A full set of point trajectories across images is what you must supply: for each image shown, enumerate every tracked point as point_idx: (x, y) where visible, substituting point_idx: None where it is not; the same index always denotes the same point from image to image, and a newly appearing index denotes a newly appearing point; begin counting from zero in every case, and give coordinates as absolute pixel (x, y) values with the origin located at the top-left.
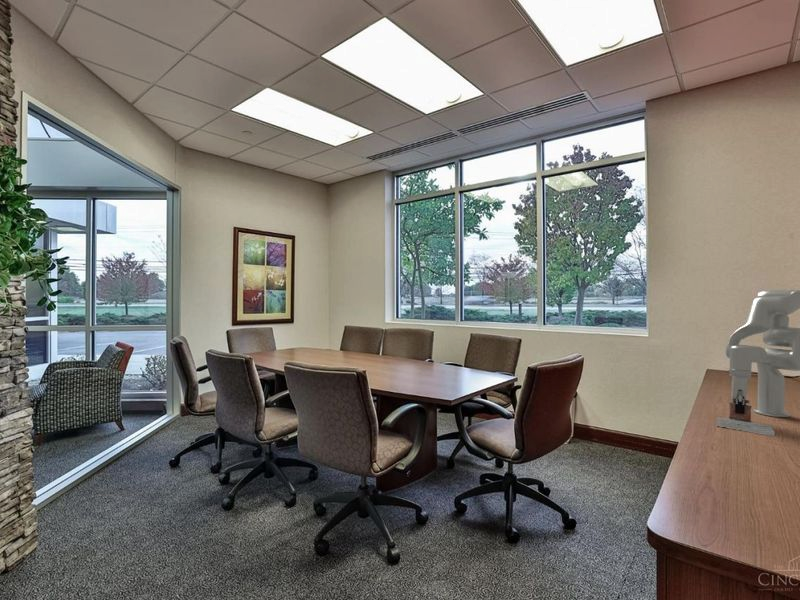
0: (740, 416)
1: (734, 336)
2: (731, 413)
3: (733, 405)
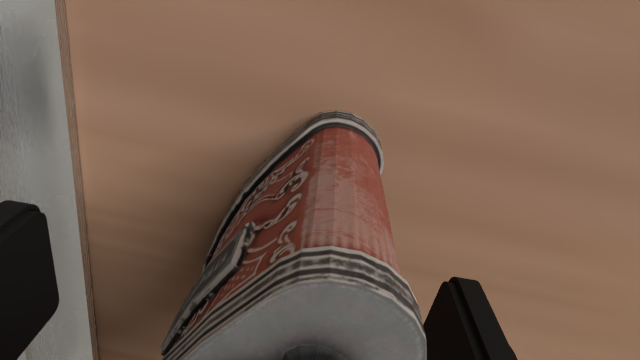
0: (221, 244)
1: None
2: (297, 167)
3: (242, 297)
